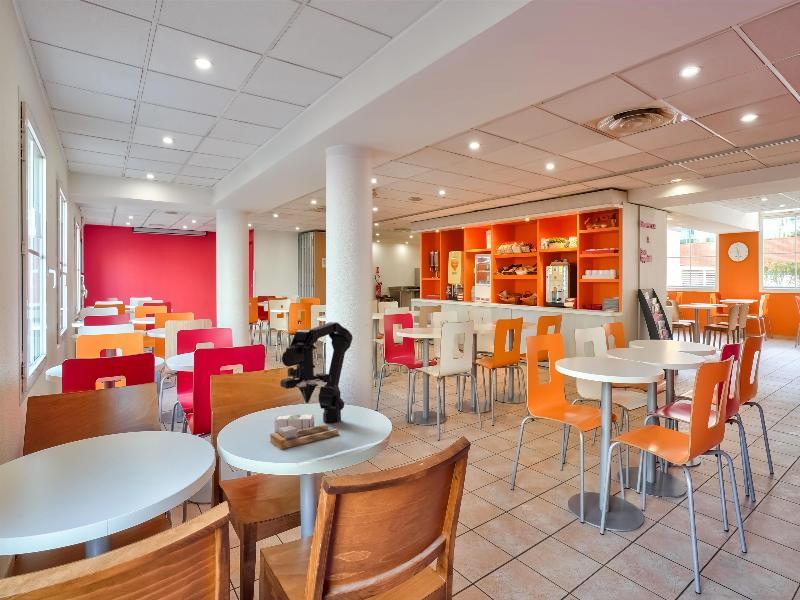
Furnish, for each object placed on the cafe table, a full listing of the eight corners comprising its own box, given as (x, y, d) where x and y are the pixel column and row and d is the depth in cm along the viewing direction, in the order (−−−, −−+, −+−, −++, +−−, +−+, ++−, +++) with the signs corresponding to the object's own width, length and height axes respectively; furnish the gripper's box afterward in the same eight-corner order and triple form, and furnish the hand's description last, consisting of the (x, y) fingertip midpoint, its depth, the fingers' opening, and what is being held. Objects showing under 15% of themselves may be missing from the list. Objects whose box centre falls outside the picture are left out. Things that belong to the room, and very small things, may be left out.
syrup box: (274, 434, 176) (312, 433, 177) (274, 419, 176) (311, 418, 177) (278, 429, 182) (314, 428, 183) (277, 414, 182) (314, 414, 182)
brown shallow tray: (324, 430, 180) (324, 420, 180) (340, 437, 171) (340, 427, 171) (269, 443, 166) (268, 433, 166) (282, 452, 157) (282, 441, 157)
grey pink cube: (291, 439, 168) (291, 425, 168) (297, 442, 164) (297, 428, 164) (278, 442, 165) (278, 428, 164) (284, 445, 161) (284, 431, 161)
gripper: (317, 357, 186) (318, 395, 186) (274, 362, 174) (275, 403, 175) (331, 360, 177) (332, 400, 178) (286, 366, 165) (287, 408, 166)
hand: (306, 402), depth 174 cm, fingers closed
